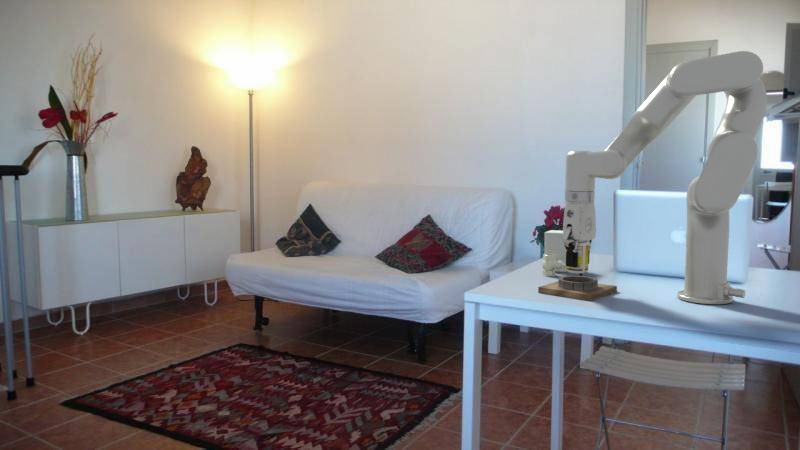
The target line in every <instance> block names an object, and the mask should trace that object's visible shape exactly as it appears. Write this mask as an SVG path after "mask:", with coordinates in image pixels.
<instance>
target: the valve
mask: <svg viewBox="0 0 800 450" xmlns="http://www.w3.org/2000/svg"><path fill="white" fill-rule="evenodd" d="M542 259H543V261H542V263H541V266H542V269H543V270H542V275H543V276H545V277H555V276H556V275H557V274H556V272H557V271H555V269H558V270H561V269H564V268H566V269H567V266H566V264H564V263H562V261H558V262H556V261H555V260H556V255H555V254H544V253H543V255H542ZM578 276H584V273H578Z"/></svg>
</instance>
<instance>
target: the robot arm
mask: <svg viewBox="0 0 800 450" xmlns="http://www.w3.org/2000/svg"><path fill="white" fill-rule="evenodd" d="M763 72H764V63H763V60H762V59H761V57H760V56H759V55H758V54H756V53H754V52H752V51H747V50H741V51H740V50H739V51H733V52H728V53H724V54H722V53H721V54H717V55H711V56H705V57H701V58H695V59H690V60H686V61H682V62H679V63H678V64H676V65H675V66H674V67H673V68H672V69H671V71H669V73H668V74H667V75H666V77H664V79H663V80H662V81H661V82H660V84H659V85H658V86H657V87H656V88H655V89H654V90H653V92H652V93H651V94H650V95H649V96H648V97H647V98H646V99H645V100H644V102H643V103H641V104H640V105H639V107H638V108H637V109H636V110H635V112H634V113H633V114H632V115H631V117H630V119H629V120H628V123H627V124H626V125H625V126H624V128H623V129H622V130H621V131H620V132H619V134H618V135H616V137H615V138H614V139H613V140H612V142H611V143H609V145H608V146H607V148H606V149H605V150H600V151H590V150H571V151H569V152H567V154H566V155H565V174H564V176H565V182H564V186H565V187H564V203H565V205H564V213H563V224H562V231H563V238H562V242H563V243H564V246H565V251H566V266H568V267H578V252H577V247H578V242H582V241H587V242H588V243H589V255H588V265H589V264H590V250H591V243H592V240H594V239H595V238H596V235H597V233H596V232H597V223H596V222H597V220H596V219H597V218H596V209H595V194H596V193H595V189H596V186H595V185H596V178H600V179H606V180H615V179H618V178H620V177H621V176H623V175H624V173H625V171H627V169H628V167H629V166H630V165H631V164H632V163H633V162H634V160H636V158H637V157H638V156H639V155H640V154H641V153H642V152H643V151H644V150H645V149H646V148H647V147H648V146H649V145H650V144H651V143H652V142H654V141H655V140H656V139H657V138H658V137H660V136H661V135H662V134H663V132H665V131H666V130H667V129H668V127H669V126H670V125H671V124H673V123H672V122H674V120H676V118H677V117H678V116H679V115H680V114H681V113H682V111H684V110H685V108H687V106H688V105H689V104H690V103H692V101H693V100H694V99H695V98H696V97H697V96H701V95H708V94H709V95H710V94H716V93H721V92H724V94H725V97H726V104H725V105H726V106H725V109H724V111H723V114H722V116H721V119H720V122H719V123H718V126H717V128H716V129H715V133H714V135H713V137H712V138H711V140H710V142H709V144H708V146H707V150H706V157H707V158H706V162H705V164H704V166H703V169H702V170H701V172H700V174H699V175H698V176H696V177H695V178H694V179H693V180H691V182H690V183H689V185H688V188H687V191H686V236H685V238H686V239H685V265H684V287H683V289H684V290H683V289H682V290H679V291H678V292H677V295H676V296H677V298H678V299H680V300H681V301H686V302H688V303H697V304H703V305H726V304H730V303H733V301H734V297H735V298H741V299H745V298H746V290H745V289H743V288H737V287H736V288H734V287H732V286H731V282H729V281H728V265H729V264H728V263H729V262H728V261H729V259H728V258H729V241H730V240H729V239H730V210H731V209H732V208H733V207H734V206H735V205H736V203H737V201H738V199H739V197H740V196H741V194H742V192H743V189H744V187H745V185H746V184H747V181H748V179H749V176H750V175H751V171H752V169H753V168H754V166H755V162H756V161H757V157H758V144H757V142H756V136H757V134H758V132H759V129H760V126H761V124H762V121H763V119H764V116H765V113H766V111H767V106H768V105H767V104H768V96H767V95H768V94H767V90H766V87H765V85H764V83H763V80H762V79H761V77H762V75H763ZM571 238H574V239H575V240H571ZM572 243H574V246H573V244H572Z"/></svg>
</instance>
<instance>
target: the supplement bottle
mask: <svg viewBox="0 0 800 450" xmlns="http://www.w3.org/2000/svg"><path fill="white" fill-rule="evenodd" d="M571 240H575V239H574V238H571ZM572 244H573V246H574V243H572ZM577 252H578V267H568V266H567V272H568V273H571V274H579V273H583V274H586V273H588V271H589V264H588V255H589V256H590V254H589V243H588V242H587V241H582V242H578V247H577Z"/></svg>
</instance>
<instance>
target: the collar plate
mask: <svg viewBox="0 0 800 450" xmlns="http://www.w3.org/2000/svg"><path fill="white" fill-rule="evenodd" d="M537 288H538V289H537V291H538V292H537V293H539V294H545V295H552V296H559V297H563V298H569V299H570V298H571V299H577V300H584V301H589V302H591V301H594V300H597V299H600V298H602V297H605V296H608V295H611V294H614V293H616V292H618V291H617V290H618V289H617V288H618V286H616V285H611V284H607V283H606V284H605V283H598V279H597V278H596V277H592V276H584V275H583V276H579V275H564V276H559V277H558V281H554V282H551V283H547V284H544V285H541V286H538V287H537Z"/></svg>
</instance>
